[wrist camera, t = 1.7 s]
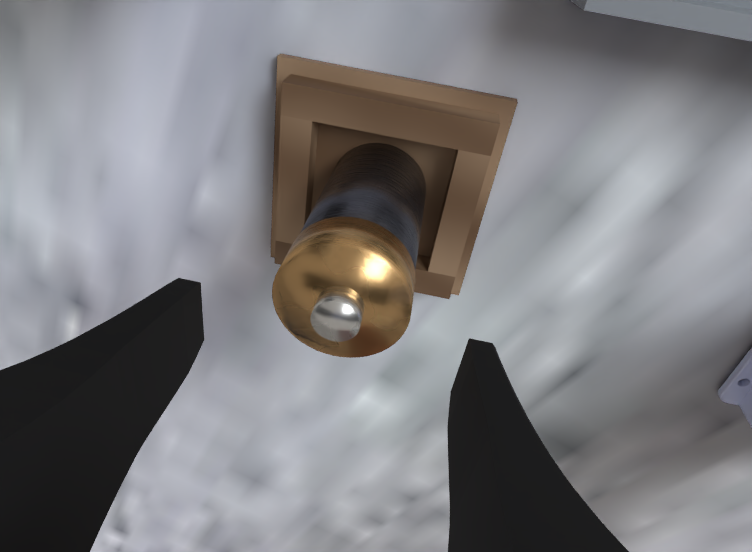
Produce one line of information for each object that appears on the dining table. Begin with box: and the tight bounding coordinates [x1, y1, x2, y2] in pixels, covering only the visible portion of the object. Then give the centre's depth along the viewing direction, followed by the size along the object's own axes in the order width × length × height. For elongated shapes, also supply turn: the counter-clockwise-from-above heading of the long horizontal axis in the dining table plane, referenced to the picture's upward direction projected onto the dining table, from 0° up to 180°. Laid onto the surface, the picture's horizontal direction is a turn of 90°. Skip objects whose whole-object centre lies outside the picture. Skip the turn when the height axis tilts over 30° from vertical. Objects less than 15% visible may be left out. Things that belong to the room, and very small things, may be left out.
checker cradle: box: [271, 54, 517, 299], centre depth 21 cm, size 9×9×2 cm
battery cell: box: [272, 143, 426, 357], centre depth 18 cm, size 4×4×9 cm
